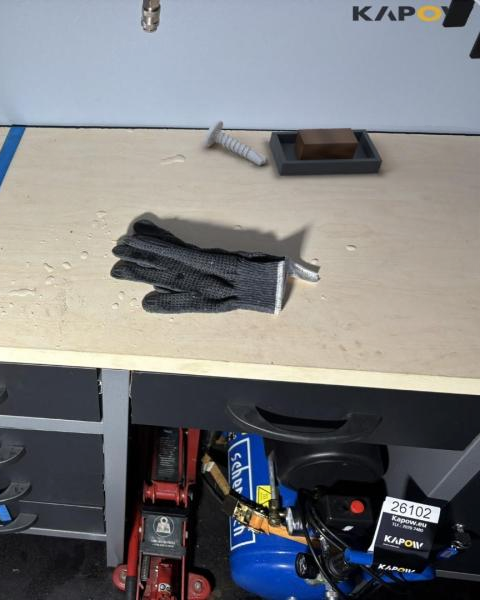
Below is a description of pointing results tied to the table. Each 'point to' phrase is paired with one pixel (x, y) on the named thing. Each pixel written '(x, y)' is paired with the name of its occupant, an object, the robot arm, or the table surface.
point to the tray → (288, 163)
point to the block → (325, 144)
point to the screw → (232, 144)
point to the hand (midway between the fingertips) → (466, 41)
